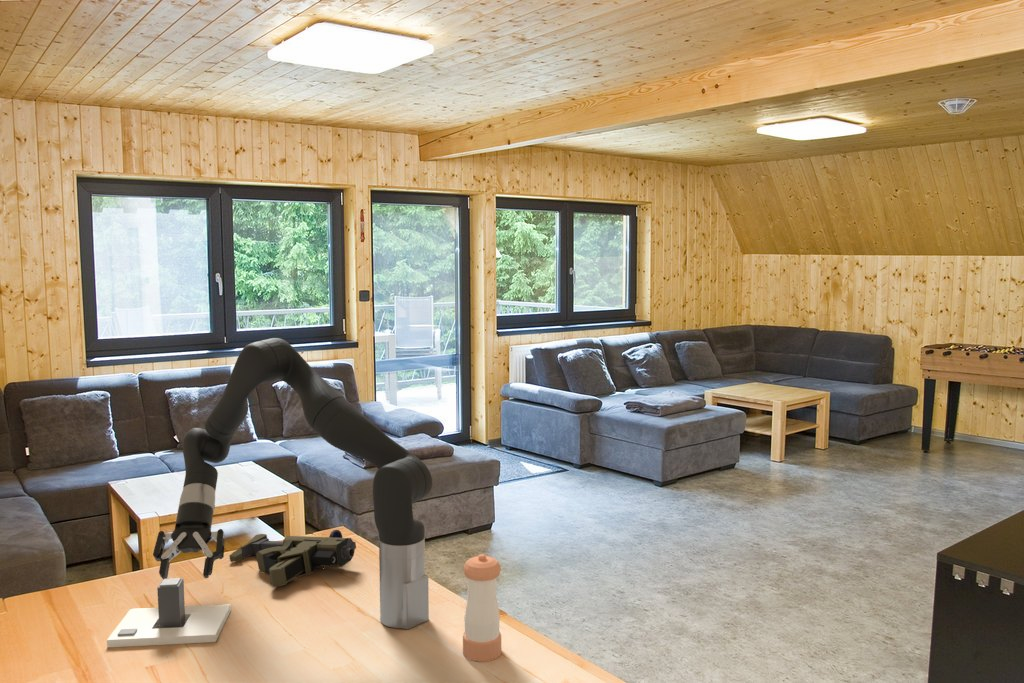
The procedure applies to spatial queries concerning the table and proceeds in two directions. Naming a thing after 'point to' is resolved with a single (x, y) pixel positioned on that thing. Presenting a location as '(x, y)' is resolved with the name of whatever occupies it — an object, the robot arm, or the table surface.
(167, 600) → the grey rectangular peg
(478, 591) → the pepper shaker
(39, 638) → the table surface
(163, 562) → the robot arm
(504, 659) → the table surface
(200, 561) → the table surface
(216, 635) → the plate
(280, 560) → the futuristic firearm
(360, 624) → the table surface
